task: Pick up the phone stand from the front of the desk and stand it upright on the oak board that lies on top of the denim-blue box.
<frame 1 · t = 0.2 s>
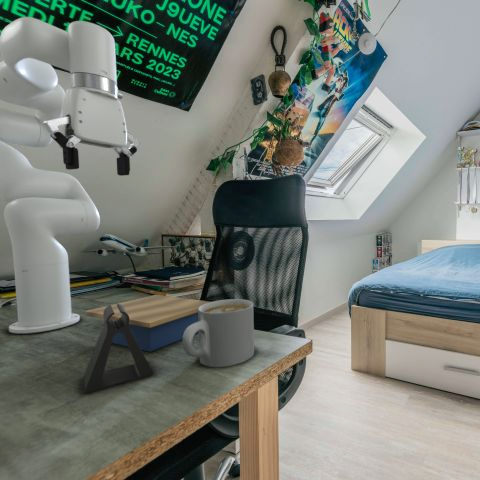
hand: (99, 172, 68), 37 cm above the table, tool pointing down, fingers open, 9 cm apart
blue box: (154, 336, 73), on the table
oak board: (153, 308, 72), on the blue box, point 6 cm above the table
phone stand: (119, 378, 54), on the table
coffee mug: (218, 359, 62), on the table
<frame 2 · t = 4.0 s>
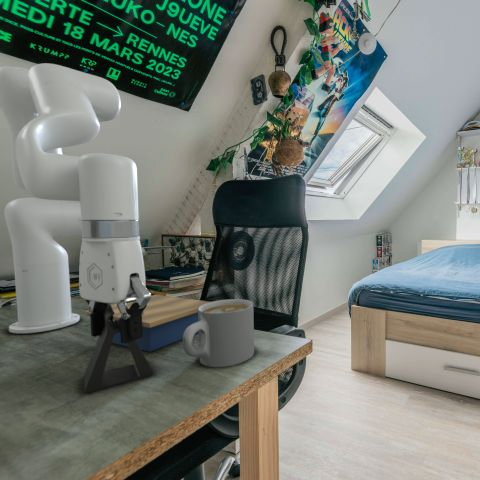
hand: (117, 336, 54), 7 cm above the table, tool pointing down, fingers closed on phone stand, 6 cm apart
phone stand: (119, 378, 54), on the table, touching gripper
everything else where it was.
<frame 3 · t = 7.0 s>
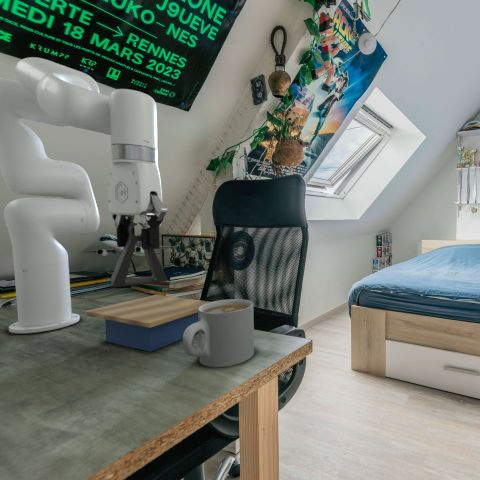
hand: (138, 246, 65), 21 cm above the table, tool pointing down, fingers closed on phone stand, 6 cm apart
phone stand: (139, 282, 65), point 14 cm above the table, touching gripper
everything else where it was.
when the fingers open (14 cm above the table, at t = 9.9 s): phone stand stays where it is, resting on oak board.
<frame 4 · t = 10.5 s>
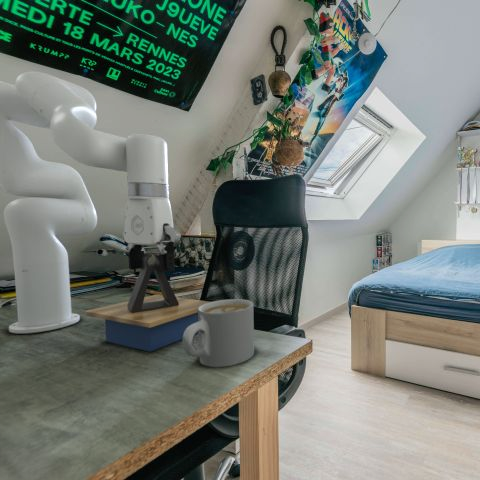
hand: (151, 270, 72), 15 cm above the table, tool pointing down, fingers open, 9 cm apart
phone stand: (153, 307, 72), point 7 cm above the table, touching oak board
everything else where it was.
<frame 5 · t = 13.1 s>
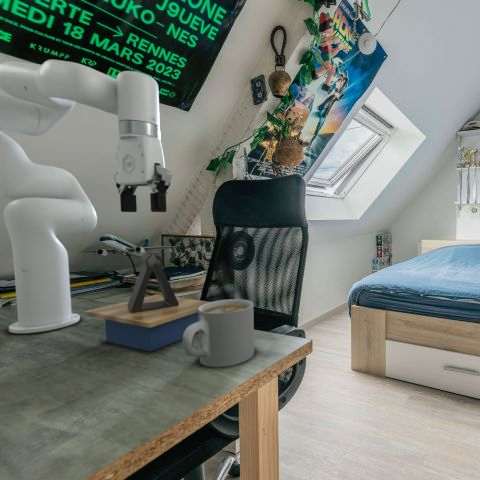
hand: (143, 211, 71), 28 cm above the table, tool pointing down, fingers open, 9 cm apart
nothing on the table moved.
at the end: phone stand inside the target area on the oak board (0.1 cm from its centre), point 6.8 cm above the oak board's base; phone stand tilted 0°; the gripper is holding nothing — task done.
